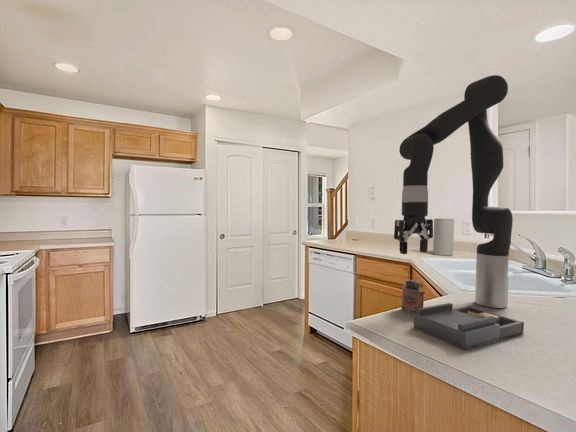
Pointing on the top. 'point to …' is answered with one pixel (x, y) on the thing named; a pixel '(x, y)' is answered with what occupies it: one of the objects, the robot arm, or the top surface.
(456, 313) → the slot block
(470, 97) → the robot arm
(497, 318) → the chip
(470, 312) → the chip
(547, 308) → the top surface
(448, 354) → the top surface
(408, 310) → the lighter
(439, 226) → the cylinder vase
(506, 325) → the tray
